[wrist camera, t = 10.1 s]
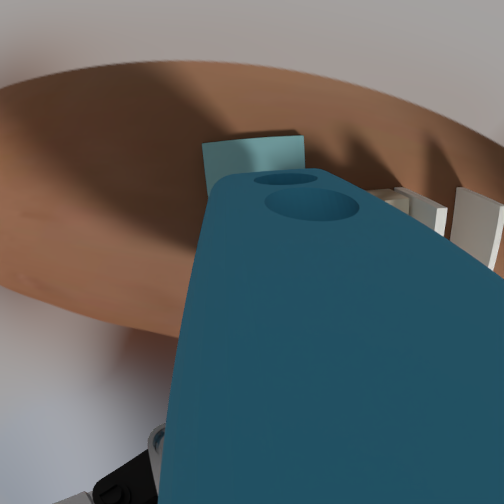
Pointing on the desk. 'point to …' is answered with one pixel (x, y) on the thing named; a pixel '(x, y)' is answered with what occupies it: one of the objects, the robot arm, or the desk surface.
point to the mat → (252, 156)
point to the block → (333, 355)
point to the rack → (463, 221)
